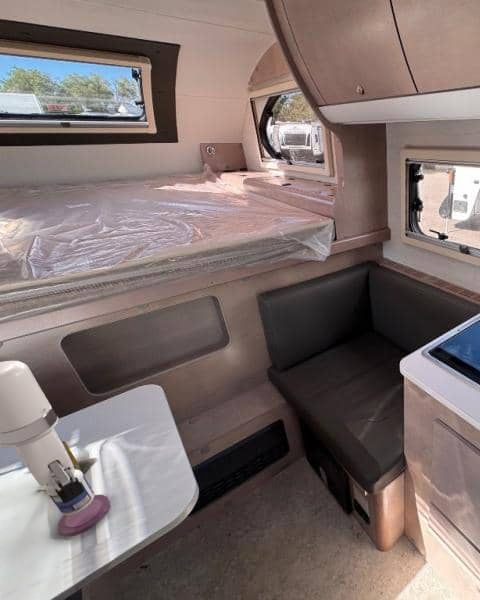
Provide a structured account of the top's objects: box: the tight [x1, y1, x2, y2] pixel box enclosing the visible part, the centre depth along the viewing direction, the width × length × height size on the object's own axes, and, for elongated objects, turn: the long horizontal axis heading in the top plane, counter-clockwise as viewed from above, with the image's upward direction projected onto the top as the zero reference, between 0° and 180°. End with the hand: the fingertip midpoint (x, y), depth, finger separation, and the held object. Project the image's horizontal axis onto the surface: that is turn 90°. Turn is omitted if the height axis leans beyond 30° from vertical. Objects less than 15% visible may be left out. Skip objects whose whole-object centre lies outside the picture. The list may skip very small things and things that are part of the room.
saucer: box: [56, 494, 111, 537], centre depth 70 cm, size 8×8×1 cm
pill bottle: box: [46, 467, 96, 516], centre depth 67 cm, size 5×5×10 cm
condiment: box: [36, 434, 98, 491], centre depth 77 cm, size 7×8×12 cm
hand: (68, 488), depth 67 cm, fingers closed on pill bottle, 5 cm apart
